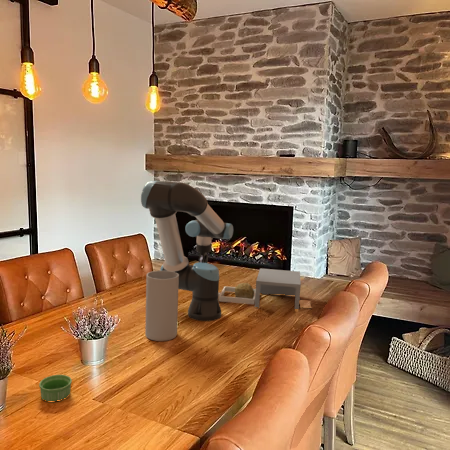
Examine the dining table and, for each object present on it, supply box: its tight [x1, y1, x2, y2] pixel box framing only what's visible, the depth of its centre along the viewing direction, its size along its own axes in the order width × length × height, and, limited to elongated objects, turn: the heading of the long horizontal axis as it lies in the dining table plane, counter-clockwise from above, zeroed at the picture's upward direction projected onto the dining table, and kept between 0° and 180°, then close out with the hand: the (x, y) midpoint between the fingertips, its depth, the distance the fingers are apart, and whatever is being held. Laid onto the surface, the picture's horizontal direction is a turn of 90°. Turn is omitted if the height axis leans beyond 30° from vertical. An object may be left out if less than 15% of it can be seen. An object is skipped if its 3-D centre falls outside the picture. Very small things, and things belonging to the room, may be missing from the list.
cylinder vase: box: [144, 270, 179, 342], centre depth 178 cm, size 12×12×25 cm
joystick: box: [218, 286, 256, 305], centre depth 230 cm, size 30×18×15 cm, turn 81°
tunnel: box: [254, 268, 301, 310], centre depth 226 cm, size 28×25×14 cm
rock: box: [234, 282, 254, 299], centre depth 230 cm, size 10×11×10 cm
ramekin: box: [38, 374, 73, 402], centre depth 133 cm, size 9×9×4 cm
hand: (202, 288), depth 233 cm, fingers closed on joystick, 3 cm apart
